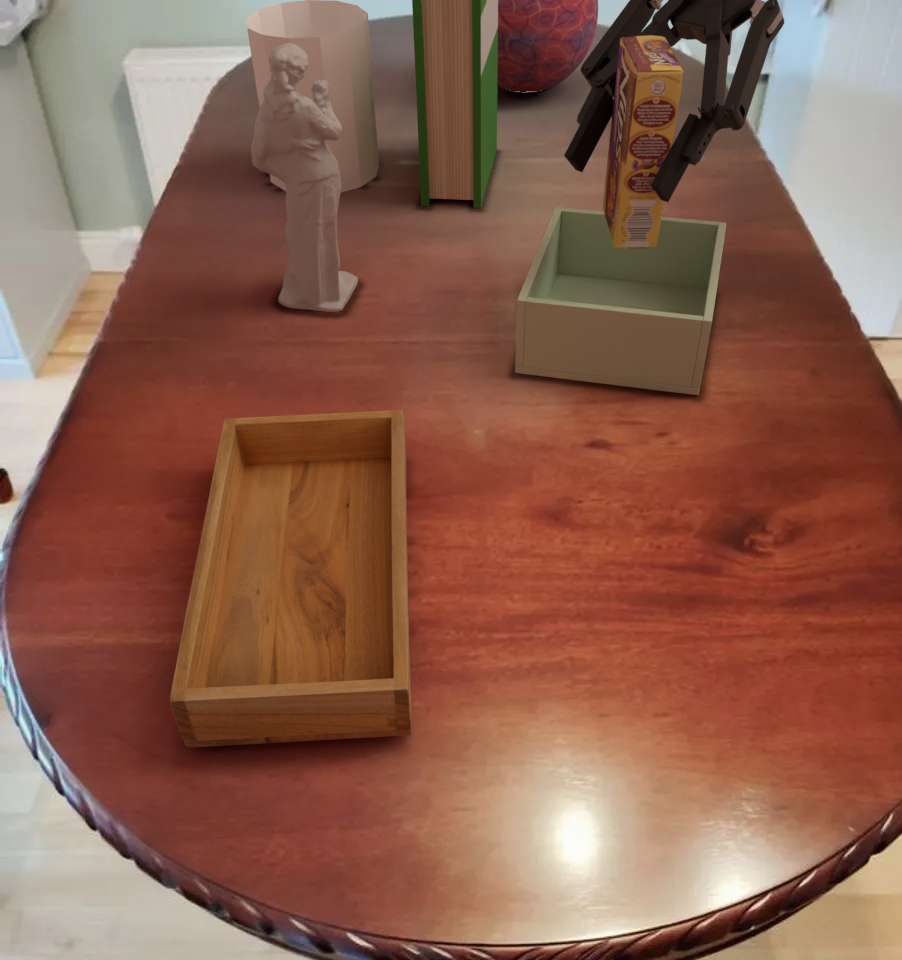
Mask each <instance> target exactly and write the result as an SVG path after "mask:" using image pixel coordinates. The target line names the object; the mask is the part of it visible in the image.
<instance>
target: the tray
mask: <svg viewBox="0 0 902 960" xmlns="http://www.w3.org/2000/svg"><path fill="white" fill-rule="evenodd" d="M404 413H405V412H404V410H403V409H398V410H397V409H396V410H393V409H392V410H376V411H375V410H373V411H353V412H352V411H351V412H333V413H312V414H291V415H273V416H272V415H271V416H251V417H233V418H224V420H223V424H222V428H221V432H220V438H219V443H218V449H217V453H216V459H215V463H214V469H213V474H212V479H211V482H210V483H211V484H210V489H209V495H208V500H207V505H206V511H205V515H204V521H203V526H202V529H201V530H202V531H201V534H200V540H199V545H198V551H197V556H196V561H195V566H194V571H193V576H192V582H191V586H190V591H189V596H188V601H187V606H186V611H185V616H184V622H183V625H182V626H183V627H182V632H181V637H180V643H179V648H178V654H177V658H176V664H175V669H174V674H173V679H172V684H171V690H170V696H169V697H170V698H169V703H170V709H171V711H172V714H173V716H174V717H173V718H174V719H175V723H176V726H177V728H178V731H179V734H180V737H181V740H182V742H184V745H185V746H186V748H206V747H222V746H240V745H241V746H242V745H259V744H260V745H261V744H278V743H295V742H296V743H297V742H312V741H313V742H314V741H331V740H347V739H363V738H364V739H365V738H384V737H402V736H411V735H412V734H413V721H412V720H413V719H412V691H411V690H412V689H411V688H412V687H411V657H410V656H411V654H410V653H411V652H410V615H409V614H410V611H409V609H410V607H409V565H408V563H409V561H408V560H409V559H408V525H407V524H408V514H407V513H408V511H407V510H408V509H407V508H408V507H407V441H406V440H407V439H406V428H405V416H404V415H405V414H404Z"/></svg>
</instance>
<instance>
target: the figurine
mask: <svg viewBox="0 0 902 960" xmlns="http://www.w3.org/2000/svg"><path fill="white" fill-rule="evenodd" d="M308 60H309V59H308V56H307V54H306V52H305V51H304V50H303V49H301V48H300V47H299V46H298V45H296V44H292V43H285V44H282V45H280V46H278V47H276V48H275V49H273V50H272V51H271V56H270V57H269V63H270V72H271V73H272V75H271V79H270V81H269V82H268V84H267V86H266V87H265V89H264V93H263V95H264V100H263V102H262V104H261V106H260V108H259V107H258V111H257V115H256V118H255V122H254V134H253V140H252V144H251V147H250V153H251V162H252V163H251V165H252V166H253V167H255V168H256V169H257V170H258V171H260V172H262V173H263V172H264V173H266V174H269V175H270V174H271V175H273V176H275V177H277V178H278V179H280V180H281V181H283V182H284V183H285V185H286V191H285V192H286V195H285V213H286V222H285V224H284V232H283V235H284V238H285V241H286V244H287V250H288V251H287V252H288V254H287V256H288V257H287V262H286V267H285V270H284V274H283V277H282V287H281V289H280V293H279V295H278V299H277V301H278V303H279V304H281V306H283V307H286V308H288V309H297V310H309V311H310V310H311V311H318V312H324V313H325V312H326V313H327V312H328V313H337V312H338V313H339V312H342V311H343V310H344V308H345V306H347V304H348V302H349V300H350V299H351V297H352V295H353V293H354V291H355V289H356V288H357V286H358V285H359V278H358V276H356V275H354V274H353V273H351V272H348V271H345V270H340V268H341V258H340V257H341V256H340V249H339V241H338V213H339V206H340V199H341V193H342V192H341V189H342V187H341V178H340V171H339V164H338V161H337V160H336V158H335V157H334V155H333V154H332V152H331V151H330V149H329V148H328V146H327V145H326V144H325V143H324V141H325V140H332V141H336V140H338V139H339V138H340V136H341V134H342V126H341V123H340V122H339V121H338V119H337V117H336V116H335V114H334V112H333V109H332V106H331V99H330V94H329V90H328V89H329V86H330V85H329V84H328V82H327V81H326V80H317V82H315V83H313V87H312V88H311V90H312V92H313V100H311V99H310V98H308V97H306V96H303V95H300V94H298V93H297V90H296V84H297V83H298V82H299V81H300V80H301V79H303V78H304V77H305V75H304V72H305V70H306V69H307V67H308V62H307V61H308ZM340 192H341V193H340Z"/></svg>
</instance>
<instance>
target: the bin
mask: <svg viewBox="0 0 902 960" xmlns="http://www.w3.org/2000/svg"><path fill="white" fill-rule="evenodd" d="M726 229H727V222H723V221H713V220H704V219H703V220H702V219H691V218H680V217H669V216H661V223H660V229H659V236H658V242H657V247H656V248H647V249H616V248H614V244H613V241H612V238H611V233H610V231H609V228H608V224H607V220H606V218H605V214H604V210H602V211H601V210H592V209H581V208H580V209H579V208H571V207H570V208H569V207H557V206H555V207H554V210H553V213H552V215H551V216H550V220H549V222H548V224H547V227H546V229H545V232H544V234H543V236H542V239H541V240H540V244H539V246H538V249H537V251H536V253H535V256H534V258H533V260H532V263H531V265H530V267H529V270H528V272H527V275H526V277H525V279H524V282H523V285H522V288H521V289H520V292H519V294H518V297H517V299H516V317H515V318H516V319H515V321H516V322H515V353H514V355H515V357H514V358H515V359H514V373H515V374H522V375H530V376H537V377H546V378H554V379H561V380H570V381H579V382H587V383H594V384H601V385H602V384H603V385H611V386H618V387H627V388H636V389H644V390H651V391H659V392H668V393H675V394H676V393H677V394H684V395H692V396H699V395H700V390H701V386H702V379H703V373H704V368H705V363H706V358H707V352H708V347H709V341H710V335H711V329H712V325H713V317H714V313H715V304H716V300H717V299H716V297H717V291H718V285H719V278H720V270H721V266H722V265H721V264H722V257H723V250H724V244H725V236H726Z"/></svg>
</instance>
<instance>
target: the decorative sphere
mask: <svg viewBox="0 0 902 960" xmlns="http://www.w3.org/2000/svg"><path fill="white" fill-rule="evenodd" d="M598 20H599V0H498V68H497V86H498V87H497V88H499V87H500V88H499V89H502V88H503V89H502V90H504V89H507V90H511V91H520V92H526V91H539V92H541V91H540V90H543V91H546V90H549V89H551V88H553V87H555V86H558V85H559V84H561V83H562V82H563V81H565V80H566V79H567V78H568V77H570V76H571V75H572V74H573V73H574V72H575V71H576V70H577V69H578V67H579V66H580V65H581V64H582V62H583V61H584V59H585V58H586V56H587V55H588V53H589V51H590V48H591V46H592V43H593V41H594V38H595V34H596V31H597V25H598ZM548 88H549V89H548ZM545 89H546V90H545ZM507 90H506V91H507ZM511 91H510V92H511ZM515 93H516V94H518V93H517V92H515ZM535 93H536V92H534V93H533V94H535Z"/></svg>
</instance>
